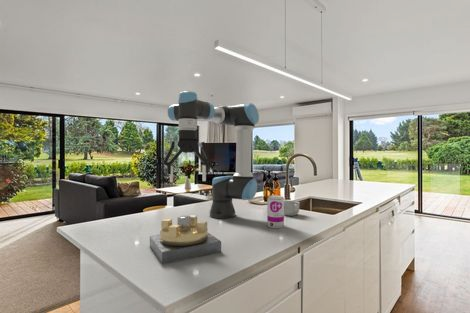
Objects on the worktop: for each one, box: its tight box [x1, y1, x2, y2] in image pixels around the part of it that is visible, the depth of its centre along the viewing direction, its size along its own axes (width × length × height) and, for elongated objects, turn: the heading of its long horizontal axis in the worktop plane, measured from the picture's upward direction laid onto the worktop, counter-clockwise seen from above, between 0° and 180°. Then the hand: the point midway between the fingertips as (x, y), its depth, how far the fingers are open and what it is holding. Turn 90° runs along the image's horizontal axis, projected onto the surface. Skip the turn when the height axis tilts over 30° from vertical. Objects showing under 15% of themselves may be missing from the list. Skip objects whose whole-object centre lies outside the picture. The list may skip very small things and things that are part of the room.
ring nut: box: [159, 214, 209, 246], centre depth 104 cm, size 18×18×8 cm
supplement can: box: [266, 194, 285, 229], centre depth 135 cm, size 8×8×15 cm
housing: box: [149, 232, 222, 265], centre depth 104 cm, size 20×22×4 cm
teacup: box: [284, 200, 300, 217], centre depth 158 cm, size 14×11×8 cm
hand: (188, 181), depth 111 cm, fingers open, 13 cm apart
